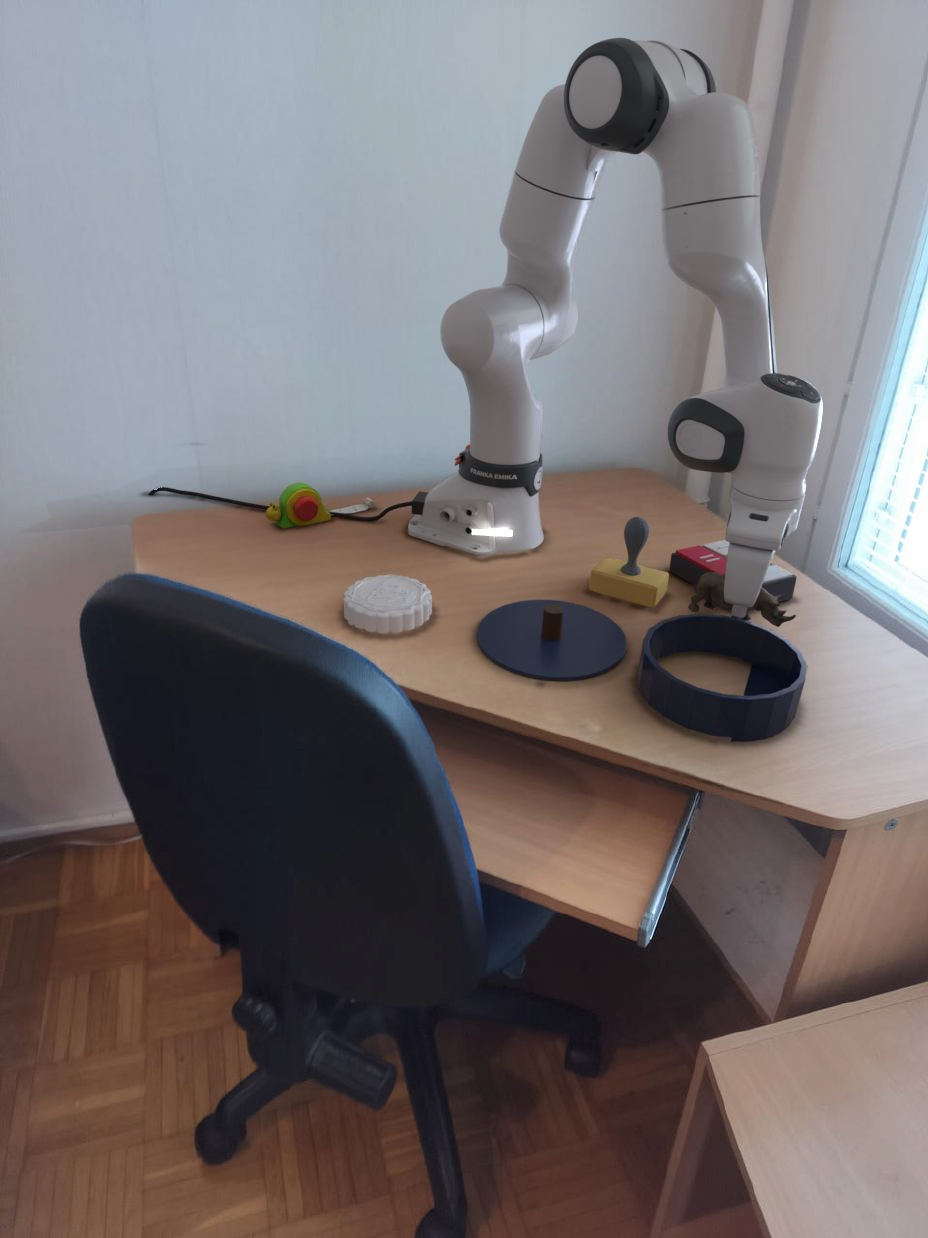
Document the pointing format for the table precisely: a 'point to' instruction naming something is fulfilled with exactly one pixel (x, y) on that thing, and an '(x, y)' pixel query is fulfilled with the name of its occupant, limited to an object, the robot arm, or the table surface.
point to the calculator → (714, 559)
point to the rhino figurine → (713, 589)
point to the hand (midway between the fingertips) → (741, 605)
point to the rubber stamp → (630, 571)
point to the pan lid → (551, 640)
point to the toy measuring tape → (306, 507)
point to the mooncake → (387, 604)
